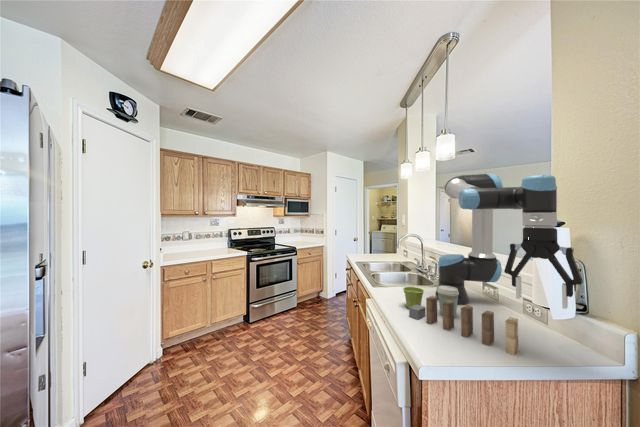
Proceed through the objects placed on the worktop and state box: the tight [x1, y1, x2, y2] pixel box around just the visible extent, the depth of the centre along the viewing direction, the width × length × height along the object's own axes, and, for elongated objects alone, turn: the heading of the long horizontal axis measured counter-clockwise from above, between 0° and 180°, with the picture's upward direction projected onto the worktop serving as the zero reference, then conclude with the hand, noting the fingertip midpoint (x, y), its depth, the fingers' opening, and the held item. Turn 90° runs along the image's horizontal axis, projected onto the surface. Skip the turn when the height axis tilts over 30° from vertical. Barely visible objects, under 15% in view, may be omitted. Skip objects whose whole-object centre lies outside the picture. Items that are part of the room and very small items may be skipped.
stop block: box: [408, 305, 426, 321], centre depth 100 cm, size 6×4×4 cm, turn 127°
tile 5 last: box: [425, 295, 438, 325], centre depth 95 cm, size 5×2×10 cm, turn 127°
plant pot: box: [402, 286, 425, 309], centre depth 110 cm, size 9×9×9 cm
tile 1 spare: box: [504, 316, 519, 356], centre depth 74 cm, size 5×2×10 cm, turn 127°
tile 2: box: [481, 310, 495, 347], centre depth 79 cm, size 5×2×10 cm, turn 127°
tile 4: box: [442, 300, 455, 332], centre depth 90 cm, size 5×2×10 cm, turn 127°
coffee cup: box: [436, 286, 459, 319], centre depth 101 cm, size 8×8×12 cm
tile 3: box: [460, 304, 474, 339], centre depth 84 cm, size 5×2×10 cm, turn 127°
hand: (540, 302), depth 69 cm, fingers open, 9 cm apart
